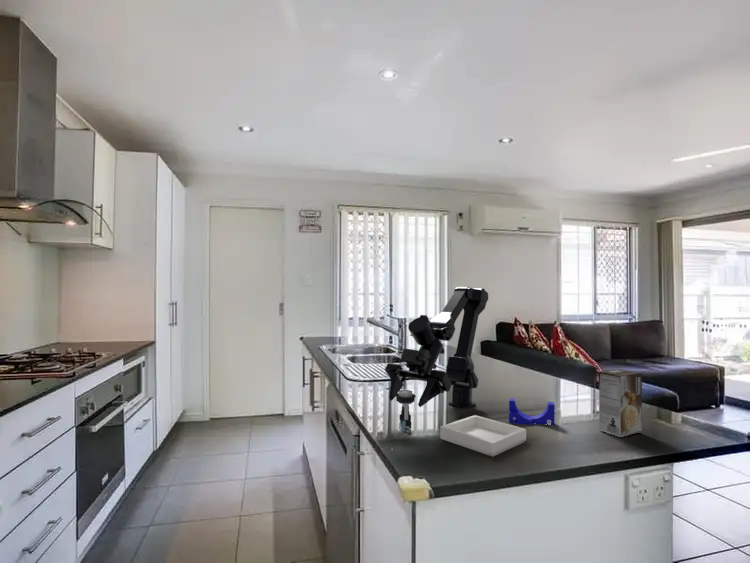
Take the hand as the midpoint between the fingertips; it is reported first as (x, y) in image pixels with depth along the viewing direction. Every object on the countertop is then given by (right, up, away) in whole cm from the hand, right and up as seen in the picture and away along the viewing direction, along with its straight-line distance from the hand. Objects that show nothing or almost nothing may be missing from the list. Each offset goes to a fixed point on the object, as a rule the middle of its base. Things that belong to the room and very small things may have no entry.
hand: (404, 402), depth 112 cm
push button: (0, -8, 0) cm, 8 cm away
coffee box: (+58, -9, +2) cm, 58 cm away
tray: (+19, -8, -6) cm, 21 cm away
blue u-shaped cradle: (+36, -8, +8) cm, 38 cm away
